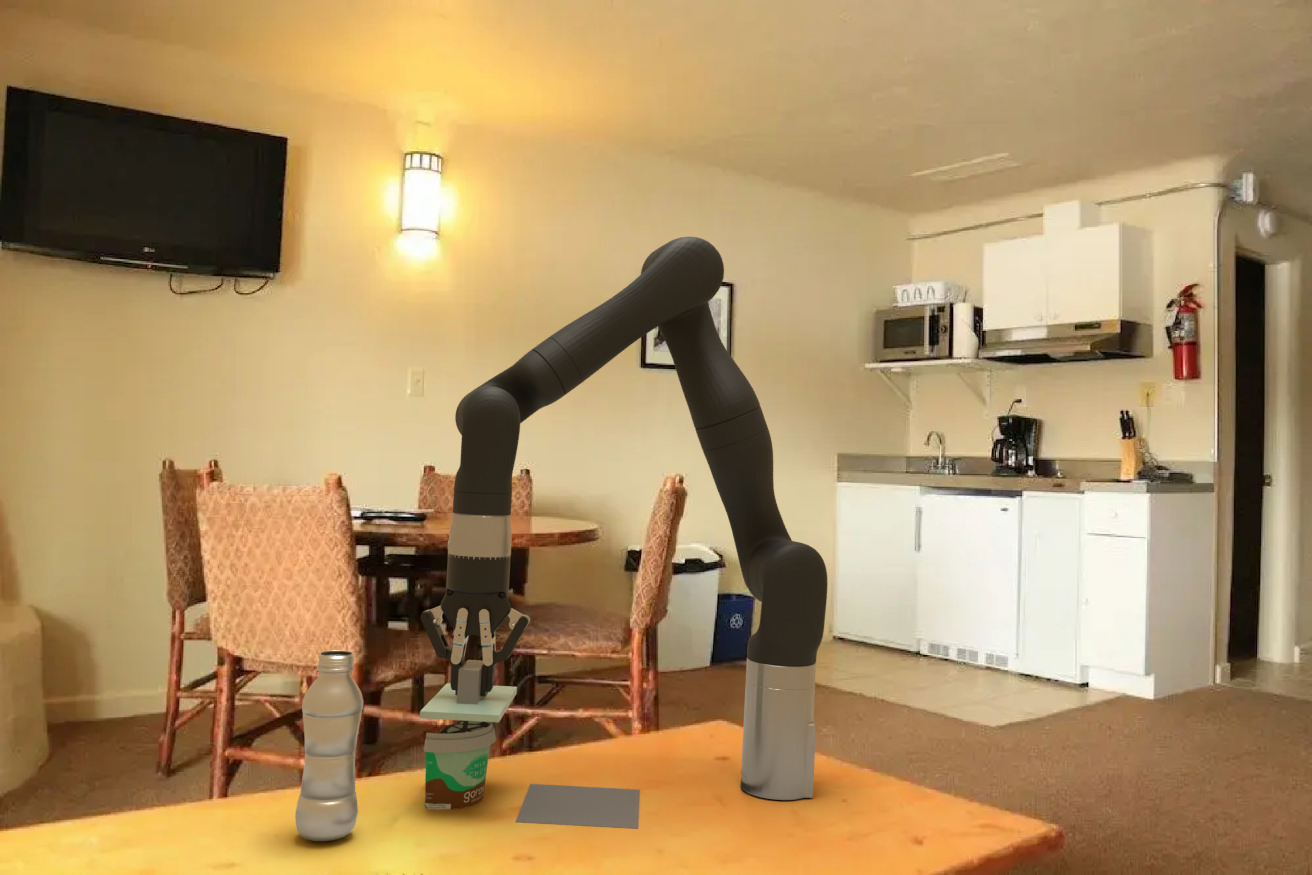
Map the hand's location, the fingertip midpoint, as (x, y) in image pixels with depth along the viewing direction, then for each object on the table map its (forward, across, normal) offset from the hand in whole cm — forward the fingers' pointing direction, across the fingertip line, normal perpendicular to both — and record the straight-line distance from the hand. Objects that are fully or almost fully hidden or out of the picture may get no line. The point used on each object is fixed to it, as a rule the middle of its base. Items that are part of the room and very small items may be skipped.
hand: (471, 693), depth 124 cm
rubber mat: (+14, -14, 0) cm, 20 cm away
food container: (+14, 0, 0) cm, 14 cm away
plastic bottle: (+14, +13, +12) cm, 22 cm away
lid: (+1, 0, 0) cm, 1 cm away
